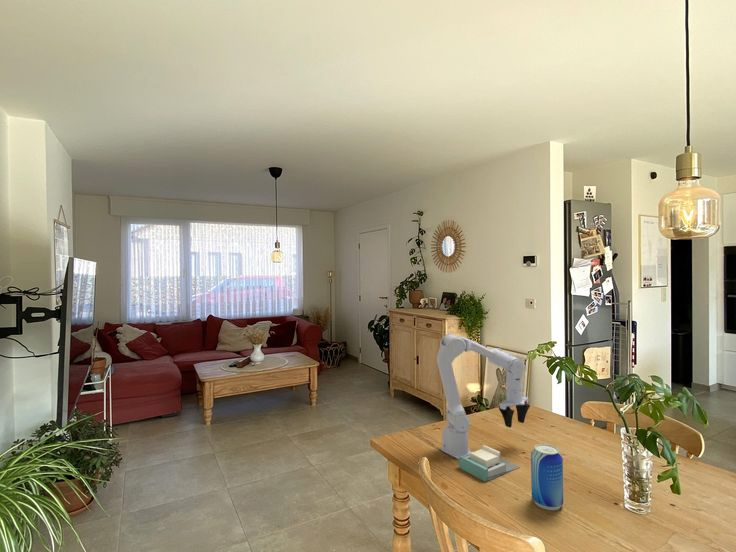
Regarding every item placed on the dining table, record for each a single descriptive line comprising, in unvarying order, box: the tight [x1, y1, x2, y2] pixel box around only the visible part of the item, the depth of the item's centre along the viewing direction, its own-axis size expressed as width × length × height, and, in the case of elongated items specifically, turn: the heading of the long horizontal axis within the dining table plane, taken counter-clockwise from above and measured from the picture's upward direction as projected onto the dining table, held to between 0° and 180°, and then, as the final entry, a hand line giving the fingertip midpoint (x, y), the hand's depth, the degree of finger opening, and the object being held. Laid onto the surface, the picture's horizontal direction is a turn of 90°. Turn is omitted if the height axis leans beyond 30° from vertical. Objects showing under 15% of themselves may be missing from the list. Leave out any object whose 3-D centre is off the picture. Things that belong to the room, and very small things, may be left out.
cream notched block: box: [470, 444, 501, 468], centre depth 137 cm, size 7×7×5 cm
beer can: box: [530, 443, 564, 511], centre depth 116 cm, size 8×8×16 cm
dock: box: [458, 455, 521, 483], centre depth 138 cm, size 12×18×5 cm
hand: (514, 424), depth 152 cm, fingers open, 7 cm apart
